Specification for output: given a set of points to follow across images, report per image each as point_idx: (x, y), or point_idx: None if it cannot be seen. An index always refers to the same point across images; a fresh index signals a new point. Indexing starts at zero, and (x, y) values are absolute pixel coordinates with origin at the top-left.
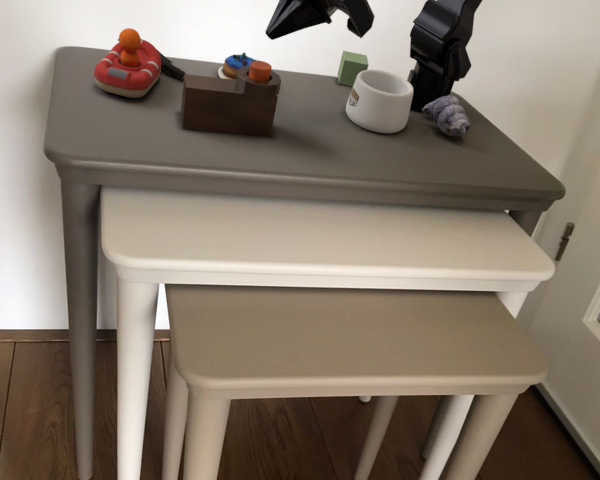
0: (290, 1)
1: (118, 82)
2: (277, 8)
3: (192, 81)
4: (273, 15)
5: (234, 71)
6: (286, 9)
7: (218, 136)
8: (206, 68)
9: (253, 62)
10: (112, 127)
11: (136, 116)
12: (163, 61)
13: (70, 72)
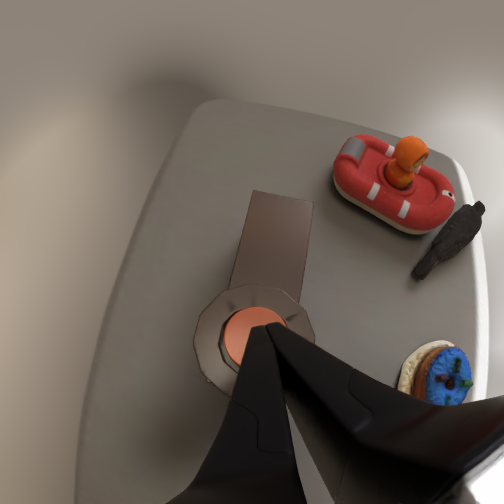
0: (345, 445)
1: (339, 152)
2: (334, 367)
3: (280, 207)
4: (315, 349)
5: (428, 360)
6: (277, 402)
7: (222, 281)
8: (459, 327)
9: (271, 319)
10: (255, 148)
11: (287, 179)
12: (440, 243)
13: (393, 143)
